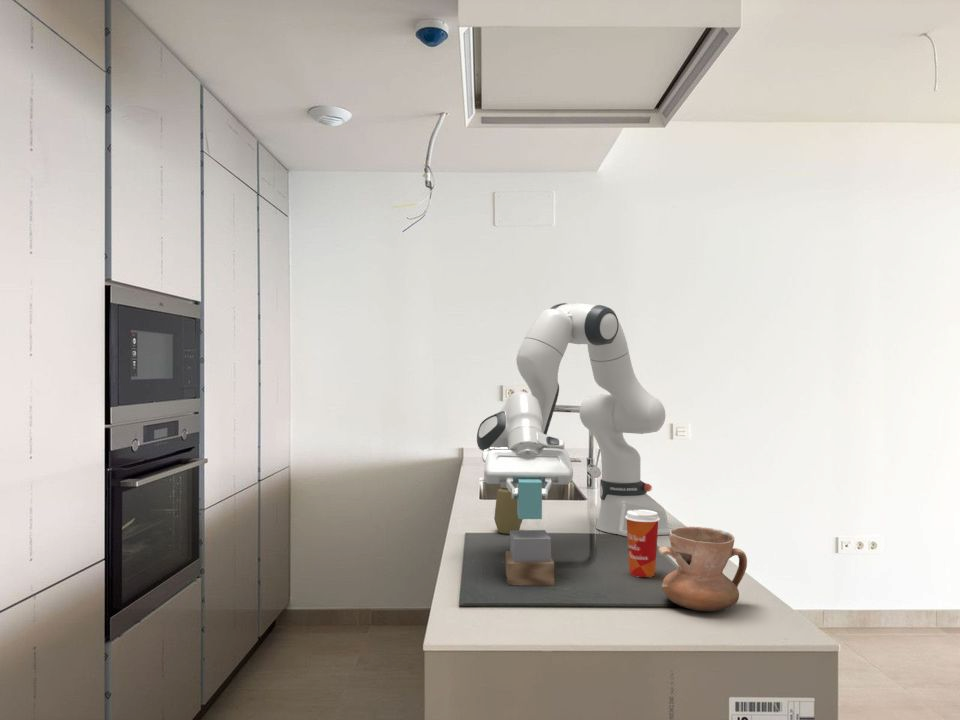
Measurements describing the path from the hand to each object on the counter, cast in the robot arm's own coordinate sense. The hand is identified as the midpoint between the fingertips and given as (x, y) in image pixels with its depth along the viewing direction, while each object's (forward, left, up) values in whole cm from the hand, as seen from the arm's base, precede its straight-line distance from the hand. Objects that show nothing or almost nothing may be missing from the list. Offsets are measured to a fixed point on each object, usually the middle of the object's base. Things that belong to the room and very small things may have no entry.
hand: (529, 497), depth 152 cm
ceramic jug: (-33, +16, -18) cm, 41 cm away
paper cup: (-26, -4, -18) cm, 32 cm away
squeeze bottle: (+2, -44, -18) cm, 47 cm away
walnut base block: (0, -1, -18) cm, 18 cm away
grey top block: (0, -1, -13) cm, 13 cm away
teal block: (0, -1, -4) cm, 4 cm away
